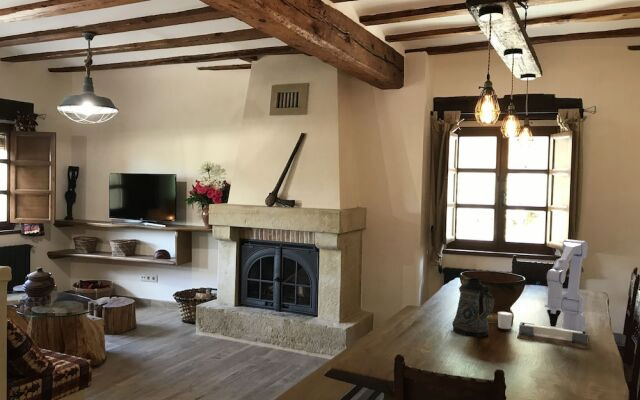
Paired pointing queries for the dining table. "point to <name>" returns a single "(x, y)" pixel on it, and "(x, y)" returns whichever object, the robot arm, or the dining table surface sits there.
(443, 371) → the dining table surface
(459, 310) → the beer stein
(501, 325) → the white cylinder
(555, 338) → the frame board
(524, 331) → the end caps
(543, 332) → the slat
